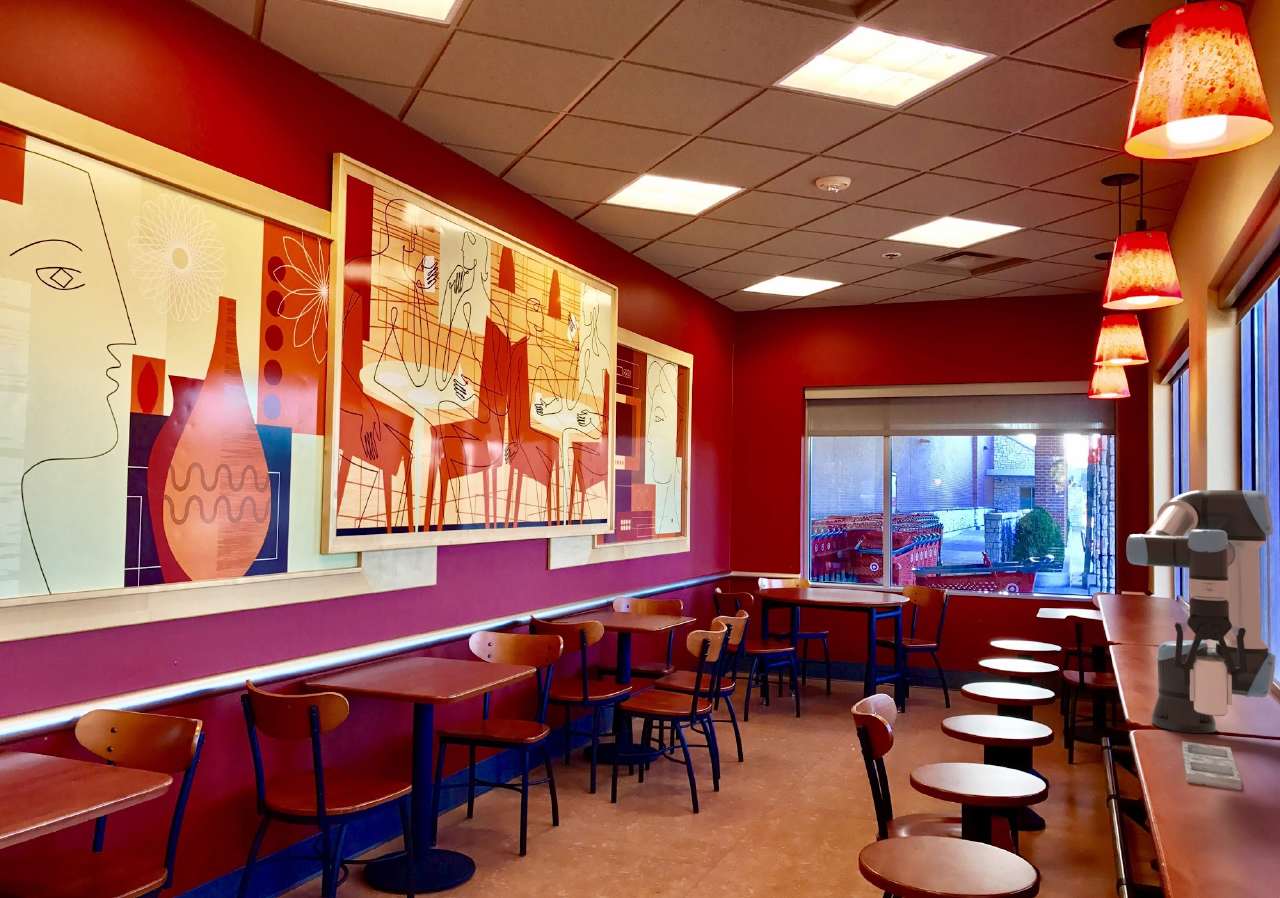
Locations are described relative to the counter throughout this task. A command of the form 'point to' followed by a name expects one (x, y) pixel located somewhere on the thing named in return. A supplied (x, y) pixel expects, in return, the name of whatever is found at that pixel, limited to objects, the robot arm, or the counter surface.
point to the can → (1210, 686)
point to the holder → (1210, 765)
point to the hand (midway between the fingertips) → (1210, 701)
